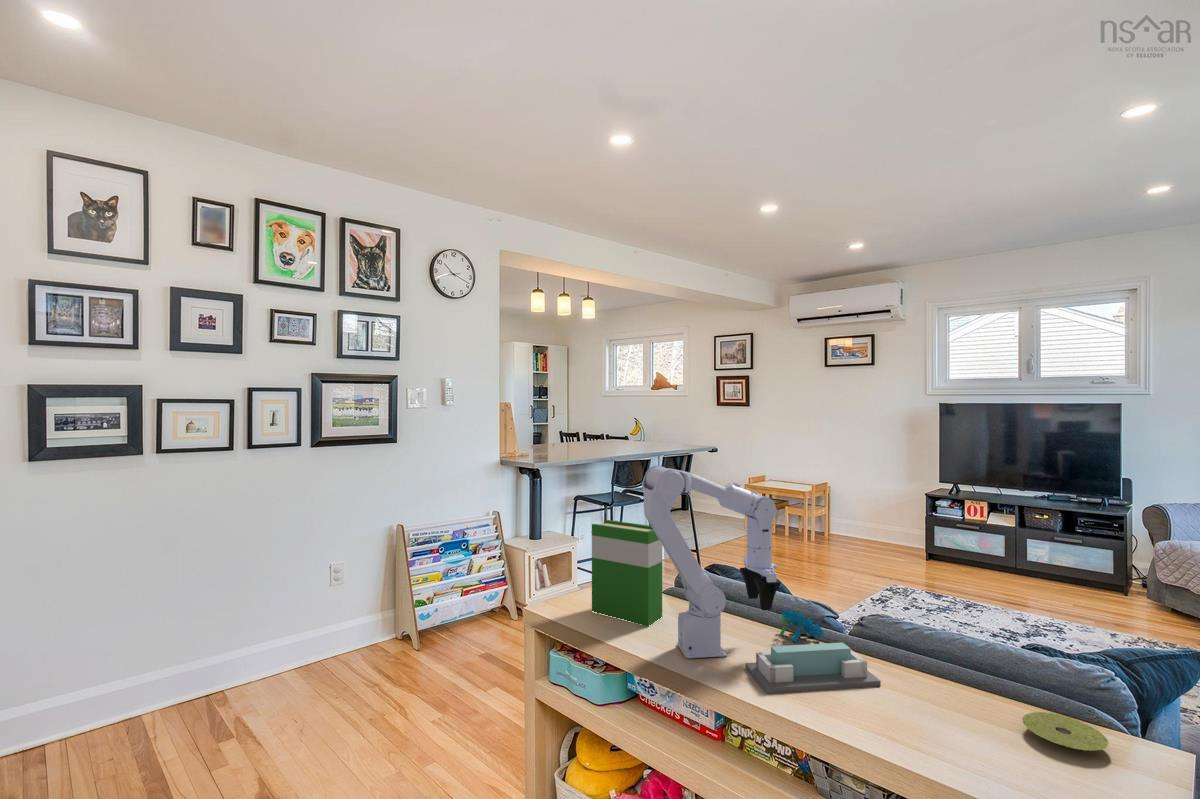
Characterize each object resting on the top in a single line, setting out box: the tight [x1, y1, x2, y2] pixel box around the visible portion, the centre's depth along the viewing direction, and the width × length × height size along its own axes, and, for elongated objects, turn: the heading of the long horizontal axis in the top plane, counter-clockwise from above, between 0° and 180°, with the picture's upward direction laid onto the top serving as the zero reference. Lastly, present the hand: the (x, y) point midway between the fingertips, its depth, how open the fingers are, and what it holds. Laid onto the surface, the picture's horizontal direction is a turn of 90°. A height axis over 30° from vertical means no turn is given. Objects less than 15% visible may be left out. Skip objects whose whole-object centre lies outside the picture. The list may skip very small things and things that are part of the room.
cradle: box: [744, 649, 882, 694], centre depth 119 cm, size 24×11×4 cm, turn 97°
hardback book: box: [591, 519, 663, 627], centre depth 154 cm, size 18×7×24 cm, turn 56°
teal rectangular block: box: [770, 642, 852, 676], centre depth 119 cm, size 16×3×5 cm, turn 97°
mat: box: [1021, 711, 1109, 751], centre depth 96 cm, size 11×11×2 cm
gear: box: [779, 608, 825, 643], centre depth 138 cm, size 11×6×10 cm
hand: (759, 603), depth 136 cm, fingers open, 7 cm apart
